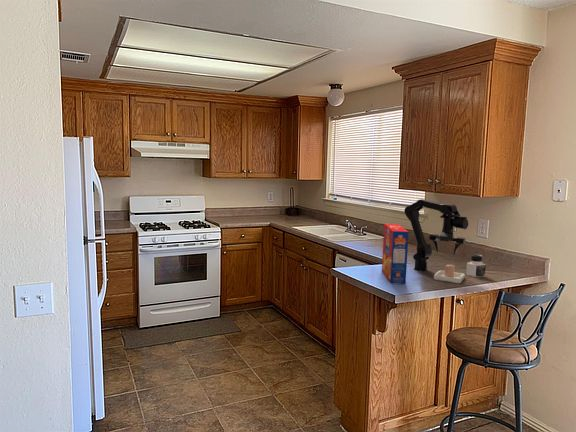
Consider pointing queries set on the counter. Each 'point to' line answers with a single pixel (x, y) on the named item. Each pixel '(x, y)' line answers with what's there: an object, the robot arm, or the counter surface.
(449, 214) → the robot arm
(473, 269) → the medicine bottle
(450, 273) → the peach rounded cylinder
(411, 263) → the counter surface
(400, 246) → the cereal box
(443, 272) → the tray
